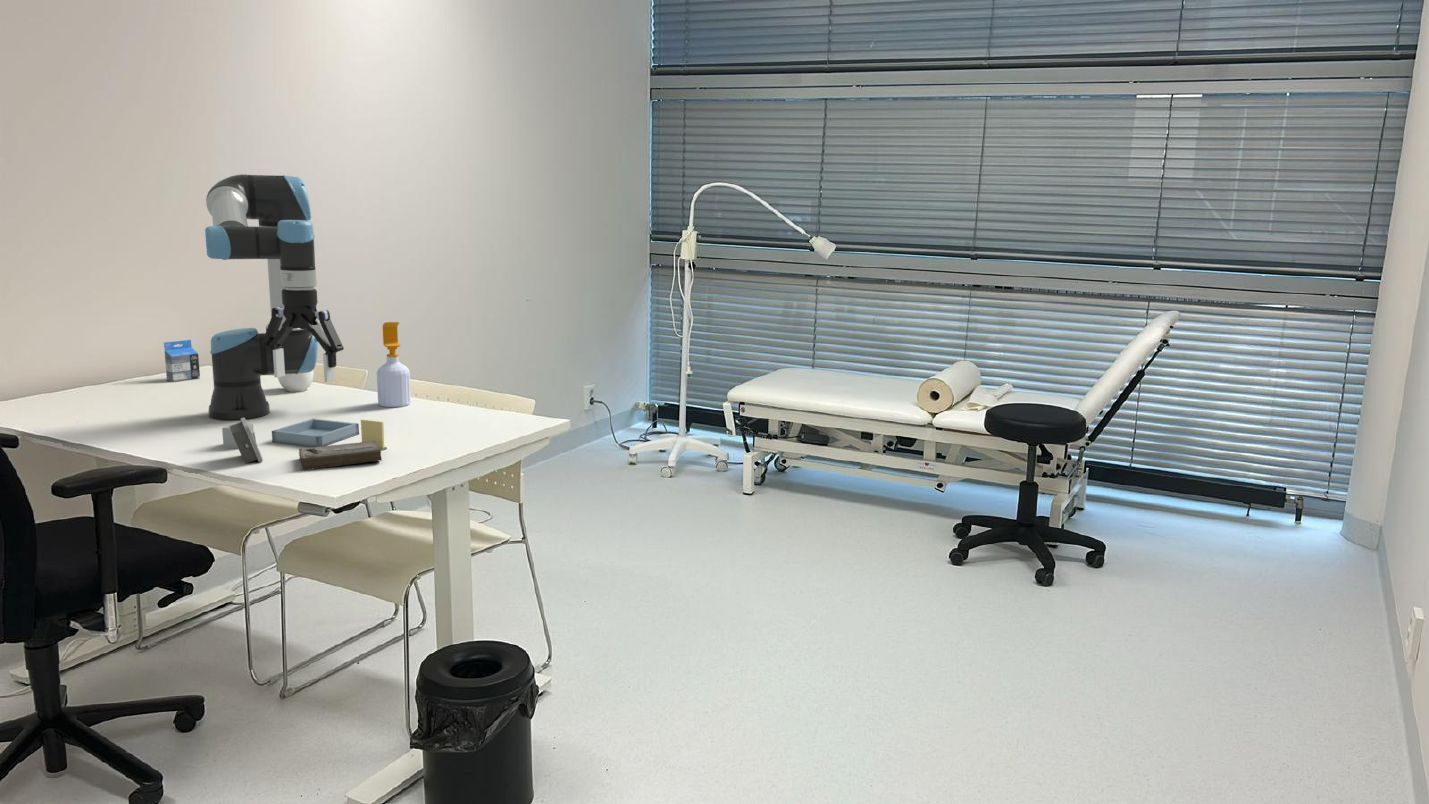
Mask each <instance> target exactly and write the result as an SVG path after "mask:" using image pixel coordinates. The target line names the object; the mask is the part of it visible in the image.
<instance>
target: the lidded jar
mask: <svg viewBox="0 0 1429 804" xmlns="http://www.w3.org/2000/svg"><path fill="white" fill-rule="evenodd" d="M314 370H315V368H314V369H313V371H311V372H308V373H299V374H285V376H281V377H277V381H278V383H279V385H280V386H281V387H282V388H283V389H285V391H286V392H295V393H296V392H304V391H307V390H308V388H309V387H311V385H312V383H313V381H314V374H315V371H314Z"/></svg>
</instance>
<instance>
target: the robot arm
mask: <svg viewBox="0 0 1429 804" xmlns="http://www.w3.org/2000/svg"><path fill="white" fill-rule="evenodd" d="M207 192H208V193H207V194H206V197H205V198H206V201H205V205H206V209H207V211H208V213H209V214H210V215H211V217H212V225H211V226H206V228H204V234H205V235H204V236H205V246H206V255H207V257H208V258H209V259H212V260H224V261H228V260H267V273H268V274H267V275H268V289H269V304H270V305H269V306H270V321H269V322H268V324H266V325H265V333H264V332H263V333H259V331H258V329H257V328H255V327H246V328H245V327H241V328H236V329H235V328H234V329H229V330H224V331H221V332H218V333H215V334H214V335H213V336H212V337H211V338H210V351H209V352H210V353H209V354H210V355H211V362H212V363H211V364H212V365H211V366H212V379H213V390H212V395H211V398H210V403H209V405H208V416H209V417H210V418H211V419H215V420H226V421H229V420H230V421H231V420H233V421H234V420H235V421H237V420H241V418H245V419H246V420H248V419H254V418H259V417H263V416H267V415H268V414H270V412H271V411H270V403H269V401H268V400H267V397H266V395H265V392H264V389H263V386H262V382H261V381H262V380H261V379H262V378H261V376H274V378H278V377H281V376H285V374H299V373H308V372H311V371H313V369H314V370H315V367H316V366H317V365H316V364H317V358H318V347H319V345H320V346H321V348H322V349H323V350H324V353H323V354H322V356H323V357H322V358H323V359H322V360H323V377H324V378H323V379H324V383H330V382H332V381H333V382H334V381H335V379H336V378H335V368H336V367H337V353H338V352H342V351H343V350H344V349H345V348H344V346H343V343H342V341H341V339H340V337H339V335H338V333H337V329H336V328H335V326H334V324H333V322H332V320H331V314H330V311H329V310H327V309H326V310H325V309H324V310H320V311H318V310H317V305H318V302H319V301H318V290H317V289H316V287H317V286H318V285H317V270H316V259H315V253H316V252H315V233H314V226H313V223H312V222H311V219H312V213H311V207H310V206H311V205H310V200H309V195H308V191H307V188H306V184H305V182H304V180H303V179H302V178H301V177H299V176H293V175H285V174H283V175H273V174H272V175H269V174H268V175H267V174H266V175H265V174H262V175H261V174H235V175H231V176H228V177H225V178H223V179H222V180H219V181H218V182H216V183H215V184H214V185H213V186H212V187H211V188H210V189H209V190H208V191H207ZM248 220H258V226H249V225H248Z"/></svg>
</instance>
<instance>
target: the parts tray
mask: <svg viewBox="0 0 1429 804" xmlns="http://www.w3.org/2000/svg"><path fill="white" fill-rule="evenodd" d="M359 425H360V424H359V423H357V422H356V423H355V422H348V421H340V420H332V419H331V420H329V419H322V418H314V417H313V418H310V419H307V420H304V421H301V422H297V423H294V424H290V425H288V426H284V427H281V428H278V429H274V430H271V438H272V439H271V441H272V443H276V444H277V443H278V444H285V445H286V444H287V445H292V446H302V447H308V448H311V447H321V446H330V445H332V444H335V443H339V442H340V441H343V440H346V439H350V438H352V437H354V436H358V435H360V426H359Z"/></svg>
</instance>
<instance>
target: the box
mask: <svg viewBox="0 0 1429 804" xmlns="http://www.w3.org/2000/svg"><path fill="white" fill-rule="evenodd" d="M381 454H382V451H380V450H379V448H378V446H377V444H376V442H375V441H369V442H362V441H360V442H352V443H343V444H333V445H332V444H330V445H327V446H321V447H305V448H304V447H303V448H299V449H298V455H299V461H300V467H301V470H302V471H307V470H316V469H322V468H330V467H339V466H345V465H346V466H347V465H352V464H353V465H354V464H362V463H369V462H377V461H381V462H382V461H383V460H382V459H383V458H382V456H381Z"/></svg>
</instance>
